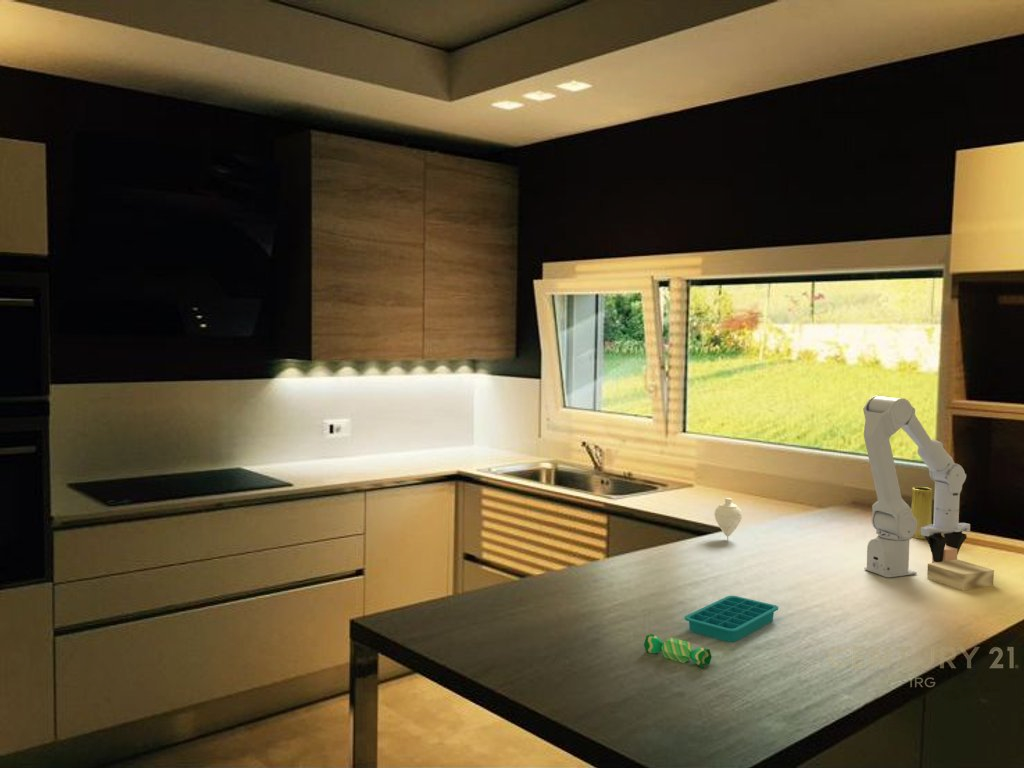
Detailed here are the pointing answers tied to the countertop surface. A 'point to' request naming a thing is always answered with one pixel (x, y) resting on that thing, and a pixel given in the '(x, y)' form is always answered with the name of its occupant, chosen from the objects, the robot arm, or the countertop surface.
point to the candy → (677, 650)
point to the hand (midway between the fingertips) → (944, 561)
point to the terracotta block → (948, 554)
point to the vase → (921, 508)
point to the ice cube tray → (731, 618)
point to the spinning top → (728, 516)
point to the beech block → (960, 574)
